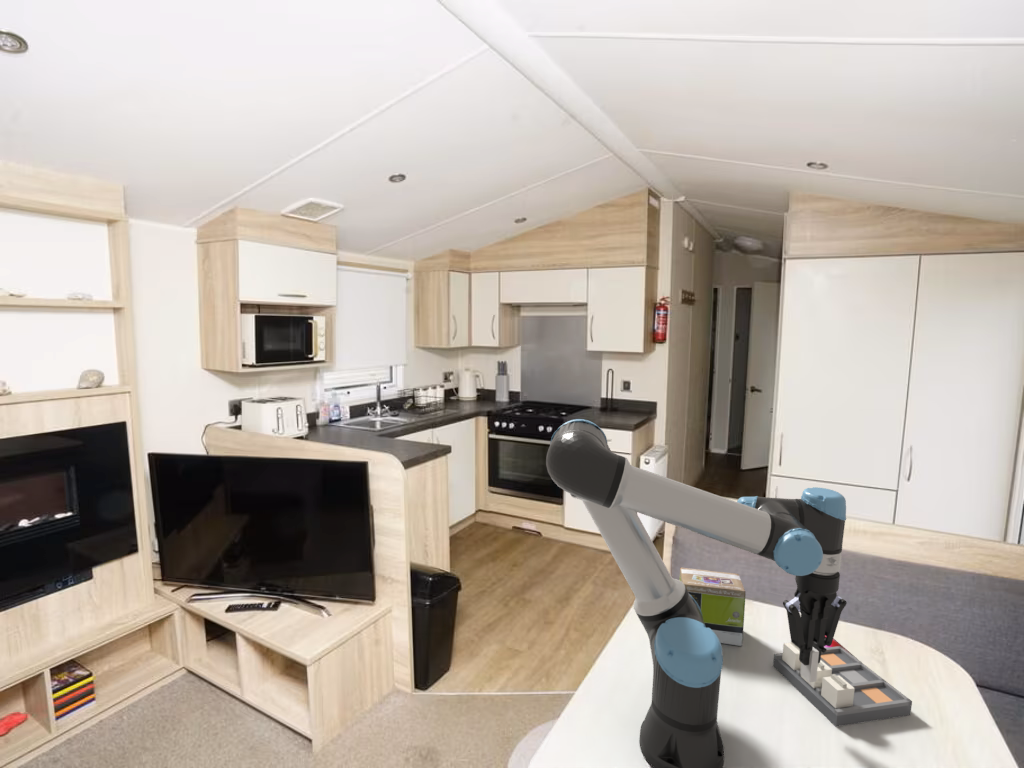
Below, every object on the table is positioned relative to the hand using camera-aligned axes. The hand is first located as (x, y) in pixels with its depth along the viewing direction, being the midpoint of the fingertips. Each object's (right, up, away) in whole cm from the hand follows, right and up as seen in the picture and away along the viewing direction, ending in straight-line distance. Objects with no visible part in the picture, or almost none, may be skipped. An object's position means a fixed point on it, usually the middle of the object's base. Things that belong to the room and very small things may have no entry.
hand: (808, 677), depth 111 cm
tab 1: (+5, -5, +14) cm, 16 cm away
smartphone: (+19, -7, +23) cm, 30 cm away
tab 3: (+7, -6, +3) cm, 10 cm away
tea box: (-9, -5, +31) cm, 33 cm away
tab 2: (+6, -6, +8) cm, 12 cm away
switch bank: (+12, -8, +10) cm, 17 cm away
